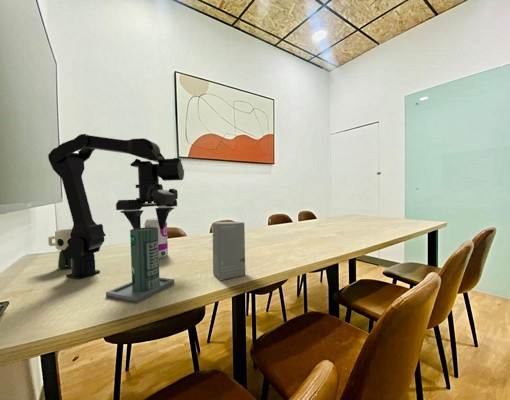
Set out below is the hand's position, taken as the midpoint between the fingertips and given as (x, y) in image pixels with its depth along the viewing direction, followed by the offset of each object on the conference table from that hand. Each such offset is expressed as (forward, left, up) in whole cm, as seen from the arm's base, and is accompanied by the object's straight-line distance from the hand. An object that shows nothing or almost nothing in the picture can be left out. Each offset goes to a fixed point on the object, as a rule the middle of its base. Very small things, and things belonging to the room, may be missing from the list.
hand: (150, 231), depth 72 cm
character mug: (-34, -4, -13) cm, 37 cm away
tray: (+8, -11, -13) cm, 19 cm away
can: (+9, -10, -13) cm, 19 cm away
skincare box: (+24, +6, -13) cm, 28 cm away
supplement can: (-14, +16, -13) cm, 25 cm away
